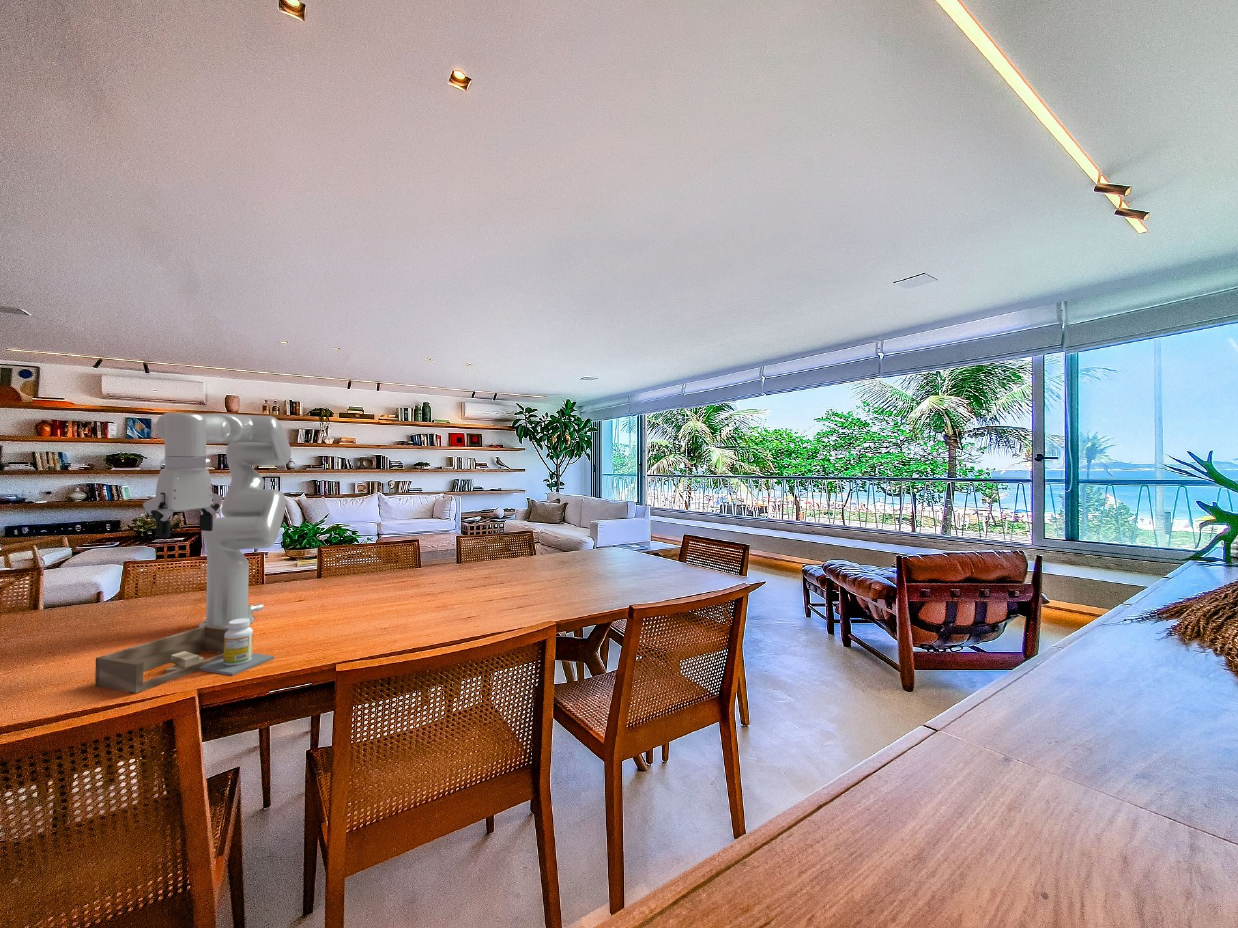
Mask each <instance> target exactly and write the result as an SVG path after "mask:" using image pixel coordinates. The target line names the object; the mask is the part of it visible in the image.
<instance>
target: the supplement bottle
mask: <svg viewBox="0 0 1238 928" xmlns="http://www.w3.org/2000/svg"><path fill="white" fill-rule="evenodd" d="M250 625H251V624H250V619H248V618H241V619H235V620H232V621H230V622H229V626H228V627H229V629H230V630H228V631H227V632H226V633H225V635H224V664H225V665H227V666H233V665H240V664H244V663H247V662H249V661H250V660H251V659H252V653H253V644H254V643H253V641H254V638H253V637H254V630H253V628H252V627H250Z"/></svg>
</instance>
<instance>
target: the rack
mask: <svg viewBox="0 0 1238 928" xmlns="http://www.w3.org/2000/svg"><path fill="white" fill-rule="evenodd" d="M228 630H230V629H229V628H224V627H216V626H209V625H206V626H202V627H199V626H198V627H196V628H193V629H188V630H185V631H183V632H178V633H175V634H172V635H170V636H165V637H163V638H159V639H155V640H152V641H148V642H145V643H142V644H139V645H135V646H132V647H128V648H126V649H125V648H124V649H121V650H117V651H115V652H112V653H109V654H105V655H100V656H98V657H95V668H94V669H95V672H94V673H95V674H94V675H95V678H94V679H95V680H94V686H95V687H99V688H102V689H103V688H104V689H109V690H113V689H114V691H118V690H119V691H118V692H124V691H128V692H127V693H129V692H134V693H133V694H135V693H137V692H139V693H142V692H145V691H147V690H149V688H150V689H152V688H151V687H153V688H155V687H158V686H161V685H162V684H161V683H163V684H165V682H166V683H168V682H167V681H169V682H171V681H173V680H172V679H174V680H176V678H177V679H179V678H182V677H185V676H187V675H190V674H193V673H195V672H197V671H200V670H199V667H202V666H205V665H207V664H210V663H213V662H215V661H218V660H221V659H224V635H225V633H226V632H227V631H228ZM184 651H186V652H189V653H192V654H195V655H198V654H200V653H202V652H210V653H217V654H218V655H215V656H212V657H208V658H207V659H204V660H203V661H200V662H199V664H196V665H193V666H189V667H186V668H181V669H178V670H175V671H173V672H170V673H167V674H166V673H164V674H162V675H159V676H157V677H153V678H151V679H147V680H144V672H147V671H149V670H153V669H155V668H159V667H161V666H164V664H165V665H167V663H168V664H170V663H171V655H173V654H177V653H180V652H184ZM158 666H159V667H158ZM152 668H153V669H152ZM146 670H147V671H146ZM192 672H193V673H192ZM178 677H179V678H178ZM170 680H171V681H170ZM160 684H161V685H160ZM157 685H158V686H157ZM146 689H147V690H146ZM141 691H142V692H141ZM137 694H138V693H137Z"/></svg>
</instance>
